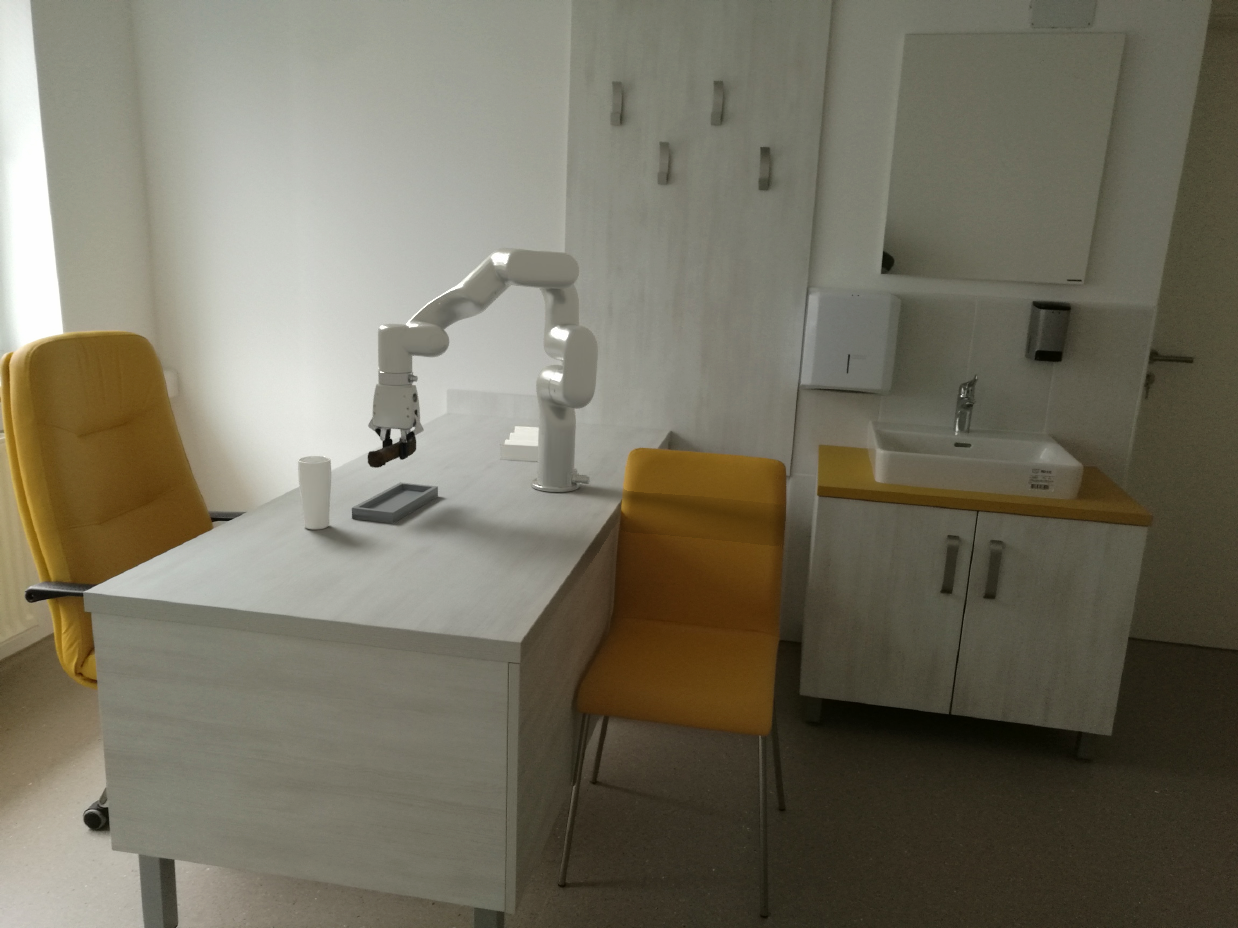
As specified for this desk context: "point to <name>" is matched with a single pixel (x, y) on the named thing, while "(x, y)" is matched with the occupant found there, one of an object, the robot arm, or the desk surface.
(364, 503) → the tray
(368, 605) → the desk surface
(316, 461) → the white tumbler
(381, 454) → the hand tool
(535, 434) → the file organizer
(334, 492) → the desk surface
